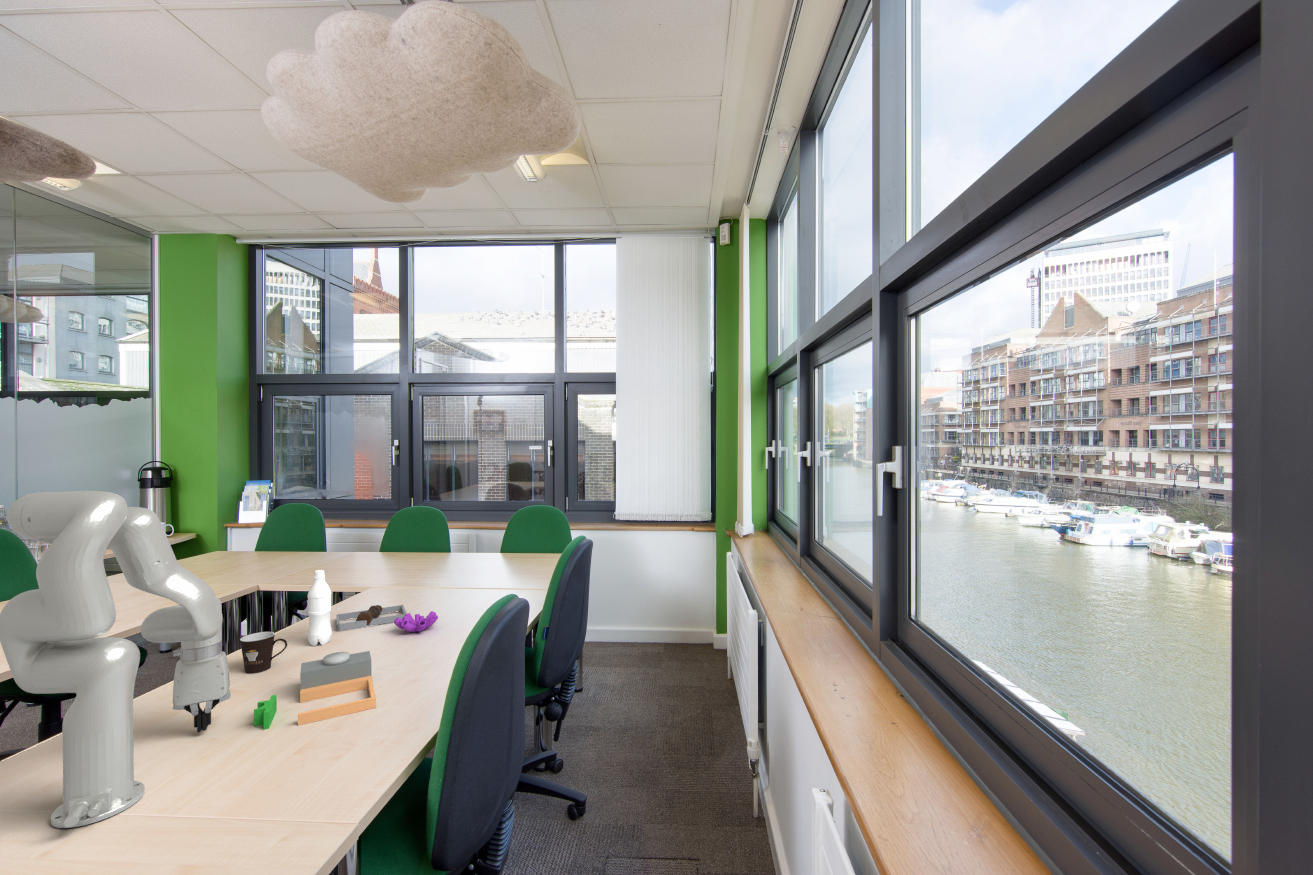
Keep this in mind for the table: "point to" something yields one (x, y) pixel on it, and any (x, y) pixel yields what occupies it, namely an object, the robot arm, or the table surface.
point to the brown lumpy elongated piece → (370, 614)
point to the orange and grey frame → (336, 684)
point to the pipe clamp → (265, 712)
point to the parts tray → (364, 622)
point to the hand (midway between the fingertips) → (202, 728)
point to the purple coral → (416, 622)
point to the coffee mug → (258, 651)
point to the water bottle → (319, 610)
